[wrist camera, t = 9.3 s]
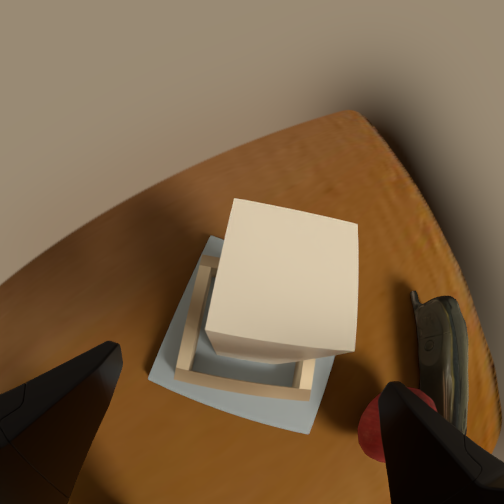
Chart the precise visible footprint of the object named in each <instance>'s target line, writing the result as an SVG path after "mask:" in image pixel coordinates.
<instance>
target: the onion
mask: <svg viewBox="0 0 504 504" xmlns="http://www.w3.org/2000/svg"><path fill="white" fill-rule="evenodd" d="M407 388H408V389H410V390H411V391H412V392H413V393H415V394H416V395H417V396H418V397H419V398H421V399H422V400H423V401H424V402H425V403H427V404H428V405H429V406H430V407H432V408H433V409H434V410H435V411H436V412H437V409H436V406H435V404H434V402H433V400H432V399H431V398H430V397H429V396H427V395H426V394H425V393H424V392H422V391H421V390H419V389H416V388H411V387H407ZM381 393H382V392H381ZM381 393H379V394H378V395H377V396H376V397H375V398H374V399H373V400H372V401H371V402H370V403H369V404H368V406H367V407H366V409H365V411H364V412H363V414H362V416H361V418H360V422H359V425H358V439H359V444H360V446H361V448H362V449H363V451H364V453H365V454H366V455H368V456H369V457H371V458H373V459H375V460H377V461H379V462H384V463H385V457H384V451H383V445H382V439H381V431H380V419H379V409H378V398H379V396H380V394H381Z"/></svg>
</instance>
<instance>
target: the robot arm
mask: <svg viewBox="0 0 504 504" xmlns="http://www.w3.org/2000/svg"><path fill="white" fill-rule="evenodd" d="M122 366H123V360H122V353H121V347H120V345H119V344H118V343H115V342H112V341H106V342H104V343H102V344H100V345H98V346H96V347H94V348H92V349H90V350H89V351H87V352H85V353H83V354H81V355H79V356H77V357H75V358H73V359H71V360H69V361H67V362H65V363H63V364H61V365H59V366H57V367H56V368H54V369H52V370H50V371H48V372H46V373H44V374H42V375H40V376H38V377H36V378H34V379H32V380H30V381H28V382H26V384H25V383H24V384H22V385H20V386H18V387H16V388H14V389H12V390H9V391H7V392H5V393H3V394H0V504H67V503H68V500H69V497H70V495H71V492H72V489H73V487H74V484H75V482H76V479H77V477H78V474H79V472H80V469H81V467H82V465H83V462H84V460H85V458H86V455H87V453H88V451H89V448H90V446H91V444H92V441H93V439H94V437H95V435H96V433H97V430H98V428H99V426H100V424H101V422H102V420H103V417H104V415H105V413H106V411H107V409H108V407H109V404H110V401H111V399H112V396H113V393H114V390H115V387H116V384H117V381H118V378H119V375H120V373H121V370H122ZM378 409H379V419H380V431H381V439H382V445H383V451H384V457H385V463H386V469H387V475H388V482H389V489H390V497H391V504H504V463H503V462H502V461H501V460H499V459H498V458H496V457H494V456H493V455H492V454H490V453H489V452H487V451H486V450H484V449H483V448H481V447H480V446H478V445H477V444H476V443H475V442H473V441H472V440H471V439H469V438H468V437H467V436H466V435H463V433H462V432H461V431H460V430H458V429H457V428H456V427H455V426H453V425H452V424H451V423H450V422H449V421H447V420H446V419H445V418H444V417H442V416H441V415H440V414H439V413H438V412H436V411H435V410H434V409H433V408H432V407H430V406H429V405H428V404H427V403H425V402H424V401H423V400H422V399H421V398H419V397H418V396H417V395H416V394H415V393H413V392H412V391H411V390H410V389H408V388H407V387H406V386H405V385H404V384H402V383H401V382H399V381H392V382H389V383H388V384H387V385H386V387H385V388H384V390H383V391H382V393H381V394H380V396H379V398H378Z"/></svg>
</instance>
